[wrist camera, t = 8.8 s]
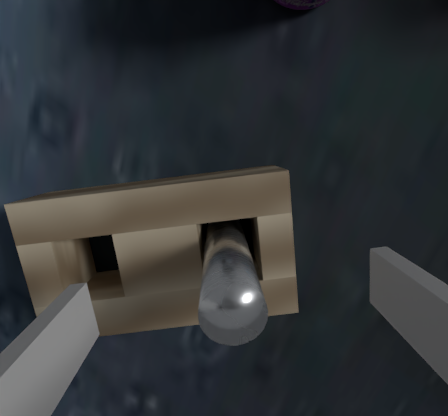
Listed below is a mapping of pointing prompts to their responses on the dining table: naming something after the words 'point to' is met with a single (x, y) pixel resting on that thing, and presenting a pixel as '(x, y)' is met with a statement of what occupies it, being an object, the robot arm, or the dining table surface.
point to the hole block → (154, 244)
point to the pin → (230, 287)
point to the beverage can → (301, 3)
